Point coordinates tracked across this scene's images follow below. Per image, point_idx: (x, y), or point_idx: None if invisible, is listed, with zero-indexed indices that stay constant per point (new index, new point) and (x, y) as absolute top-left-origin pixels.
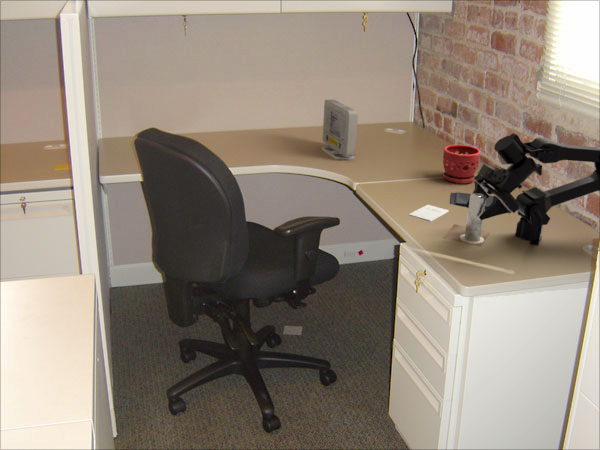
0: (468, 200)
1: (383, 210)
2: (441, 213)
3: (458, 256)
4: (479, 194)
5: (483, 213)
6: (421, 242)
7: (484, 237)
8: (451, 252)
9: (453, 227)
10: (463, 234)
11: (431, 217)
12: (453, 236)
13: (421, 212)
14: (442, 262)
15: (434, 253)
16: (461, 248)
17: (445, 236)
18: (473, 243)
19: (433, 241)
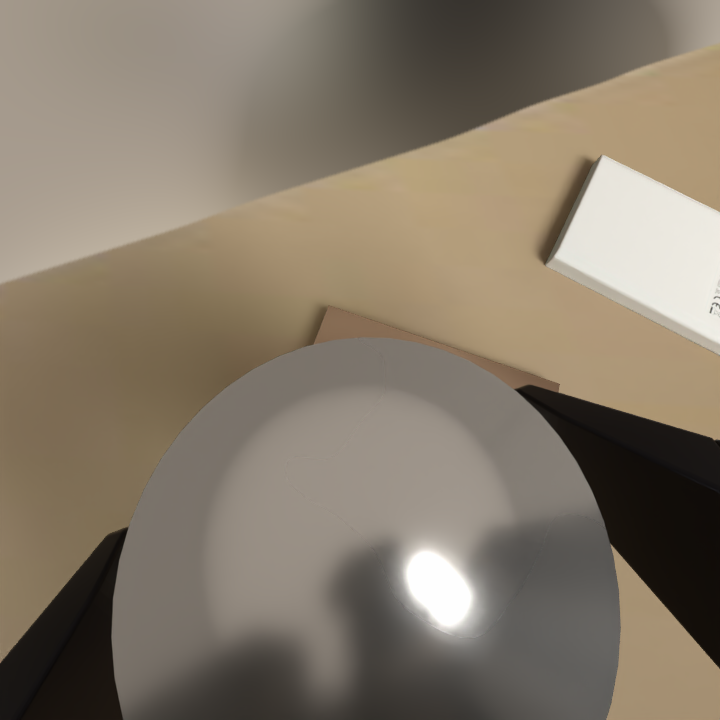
0: (600, 406)
1: (627, 74)
2: (698, 318)
3: (108, 383)
4: (522, 622)
5: (50, 611)
6: (274, 210)
7: None
8: (162, 348)
9: (504, 375)
10: None
11: (605, 259)
12: None
13: (659, 214)
14: (22, 294)
15: (139, 262)
16: None
17: (347, 320)
18: None
19: (300, 266)
